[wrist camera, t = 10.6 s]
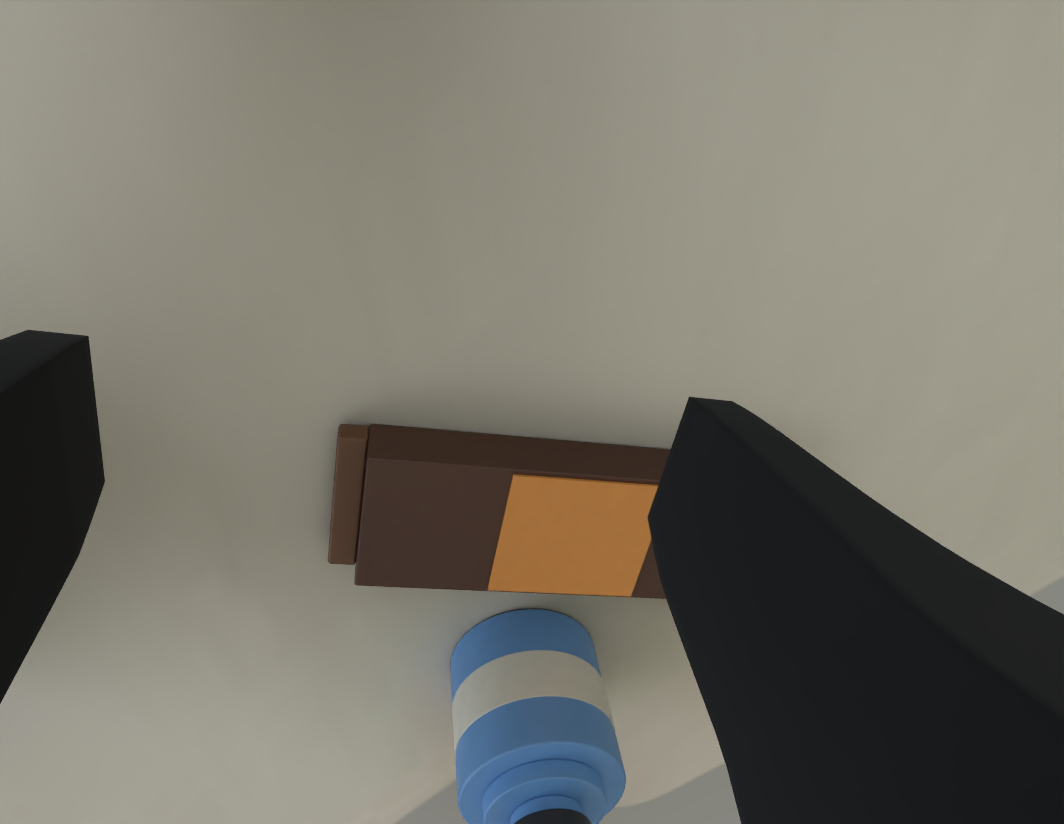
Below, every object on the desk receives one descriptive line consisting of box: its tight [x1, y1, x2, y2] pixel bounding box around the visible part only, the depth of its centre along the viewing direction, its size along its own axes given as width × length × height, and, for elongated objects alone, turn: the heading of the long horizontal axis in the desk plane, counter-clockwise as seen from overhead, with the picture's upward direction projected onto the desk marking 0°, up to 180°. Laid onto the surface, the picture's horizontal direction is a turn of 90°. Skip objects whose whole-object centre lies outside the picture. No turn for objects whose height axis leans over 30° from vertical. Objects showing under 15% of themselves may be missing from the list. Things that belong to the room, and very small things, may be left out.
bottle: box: [451, 609, 626, 824], centre depth 25 cm, size 5×5×7 cm
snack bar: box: [328, 424, 671, 599], centre depth 23 cm, size 14×4×2 cm, turn 79°
